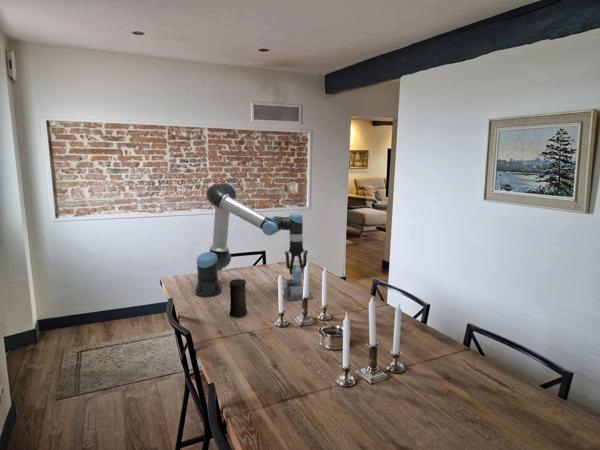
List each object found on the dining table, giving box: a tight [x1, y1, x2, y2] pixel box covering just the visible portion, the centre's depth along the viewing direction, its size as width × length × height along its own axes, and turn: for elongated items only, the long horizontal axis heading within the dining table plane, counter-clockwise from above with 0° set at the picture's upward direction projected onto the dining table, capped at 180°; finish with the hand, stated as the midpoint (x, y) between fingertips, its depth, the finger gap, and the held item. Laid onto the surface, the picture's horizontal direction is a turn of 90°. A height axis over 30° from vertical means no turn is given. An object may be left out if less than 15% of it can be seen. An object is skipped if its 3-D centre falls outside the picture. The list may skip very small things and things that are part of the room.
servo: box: [293, 264, 302, 282], centre depth 231 cm, size 9×4×9 cm, turn 15°
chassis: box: [283, 278, 315, 303], centre depth 233 cm, size 20×16×8 cm
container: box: [229, 278, 248, 319], centre depth 203 cm, size 9×9×18 cm
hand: (296, 278), depth 232 cm, fingers closed on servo, 4 cm apart
